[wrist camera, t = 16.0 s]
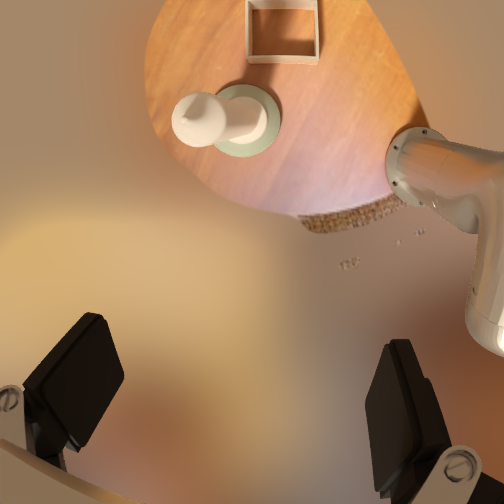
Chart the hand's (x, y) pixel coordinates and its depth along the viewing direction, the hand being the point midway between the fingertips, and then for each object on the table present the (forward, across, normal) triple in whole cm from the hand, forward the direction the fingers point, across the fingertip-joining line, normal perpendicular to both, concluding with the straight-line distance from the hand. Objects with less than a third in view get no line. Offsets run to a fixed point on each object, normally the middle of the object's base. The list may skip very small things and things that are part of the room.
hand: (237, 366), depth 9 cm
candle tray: (+39, 0, -22) cm, 45 cm away
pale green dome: (+39, +6, -8) cm, 41 cm away
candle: (+38, +6, -8) cm, 40 cm away
